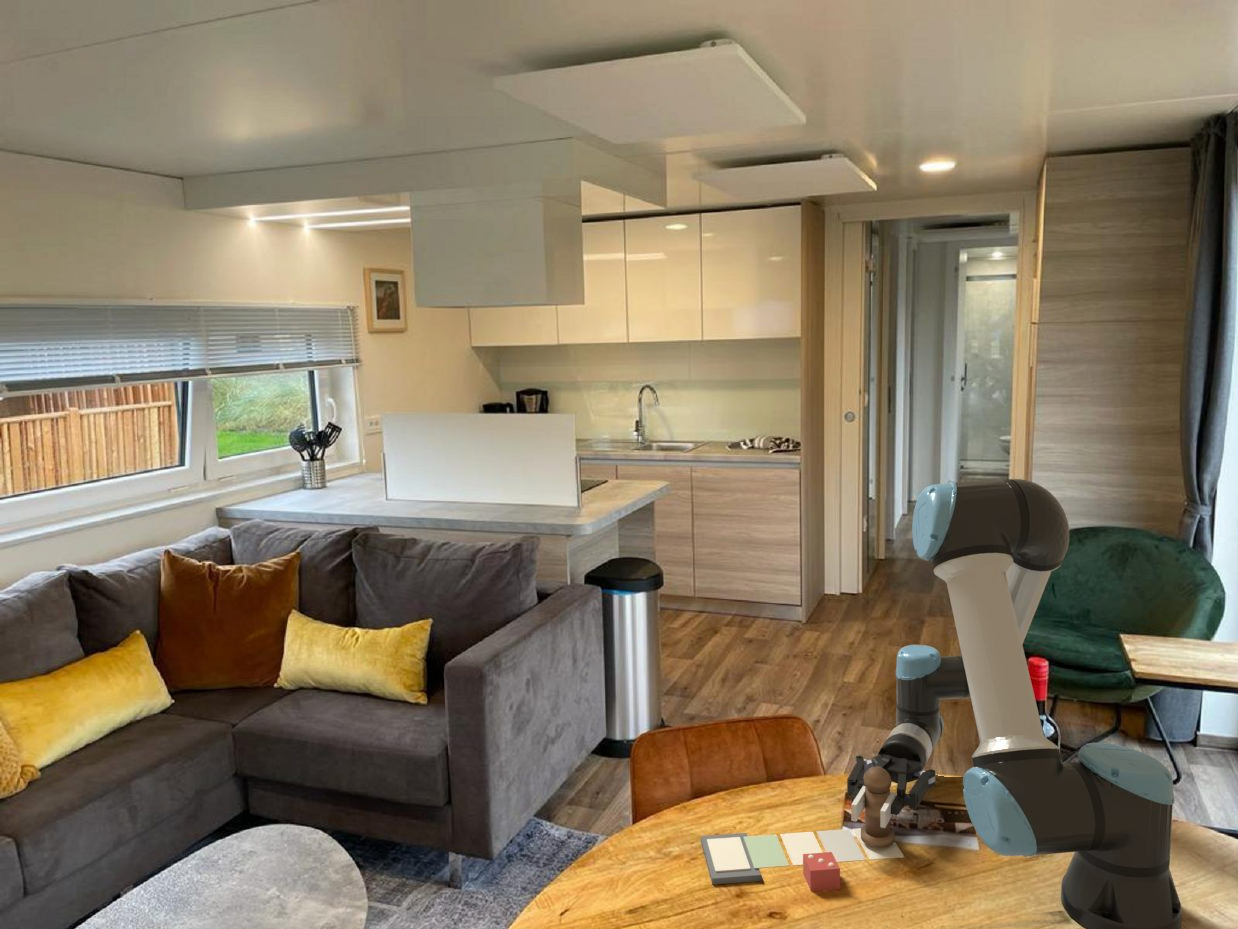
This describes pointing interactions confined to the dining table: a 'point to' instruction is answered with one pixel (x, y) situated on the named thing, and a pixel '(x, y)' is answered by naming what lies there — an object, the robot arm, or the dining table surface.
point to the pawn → (876, 808)
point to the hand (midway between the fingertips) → (868, 816)
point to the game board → (780, 852)
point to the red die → (821, 871)
